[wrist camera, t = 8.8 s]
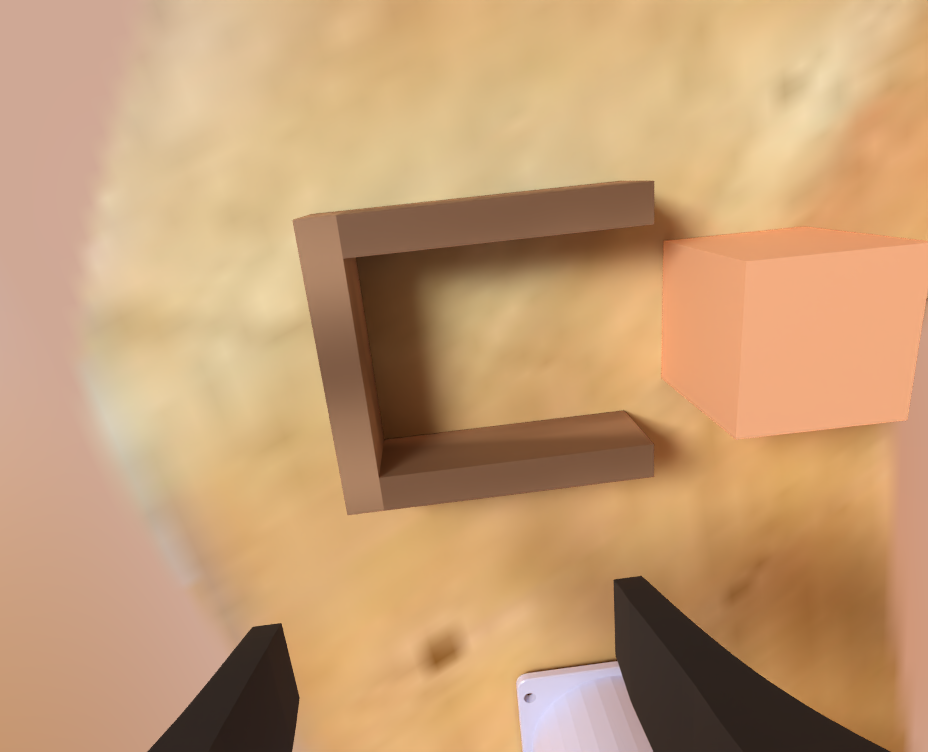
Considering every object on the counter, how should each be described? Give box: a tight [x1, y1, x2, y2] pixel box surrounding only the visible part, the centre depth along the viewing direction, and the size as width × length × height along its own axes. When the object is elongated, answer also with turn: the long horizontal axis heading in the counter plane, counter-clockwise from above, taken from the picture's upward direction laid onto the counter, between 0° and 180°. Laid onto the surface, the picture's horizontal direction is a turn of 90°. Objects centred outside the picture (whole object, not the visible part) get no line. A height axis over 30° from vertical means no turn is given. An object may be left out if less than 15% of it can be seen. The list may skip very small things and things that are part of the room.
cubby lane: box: [293, 181, 654, 515], centre depth 20 cm, size 9×10×3 cm
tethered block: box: [661, 227, 928, 440], centre depth 19 cm, size 5×14×6 cm, turn 95°
